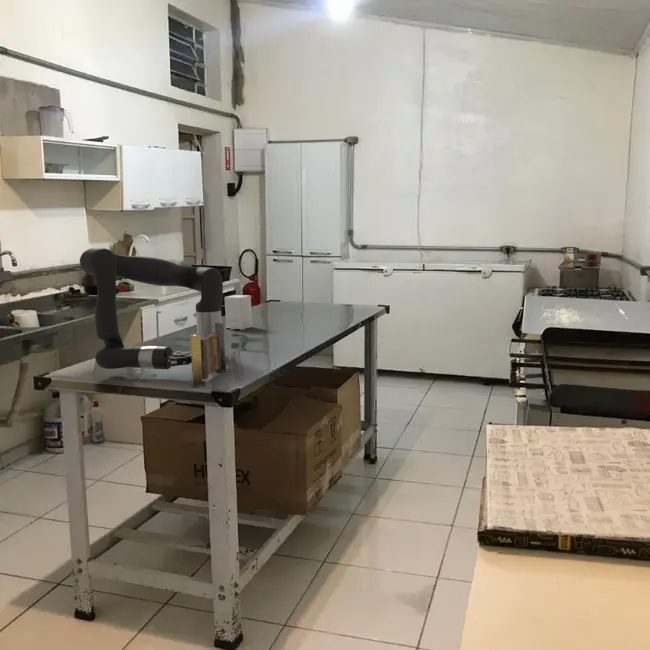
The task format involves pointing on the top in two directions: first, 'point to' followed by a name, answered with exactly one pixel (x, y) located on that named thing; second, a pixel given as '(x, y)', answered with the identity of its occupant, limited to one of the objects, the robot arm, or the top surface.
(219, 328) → the hinge post
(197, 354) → the post
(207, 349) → the gate
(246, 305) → the supplement box
